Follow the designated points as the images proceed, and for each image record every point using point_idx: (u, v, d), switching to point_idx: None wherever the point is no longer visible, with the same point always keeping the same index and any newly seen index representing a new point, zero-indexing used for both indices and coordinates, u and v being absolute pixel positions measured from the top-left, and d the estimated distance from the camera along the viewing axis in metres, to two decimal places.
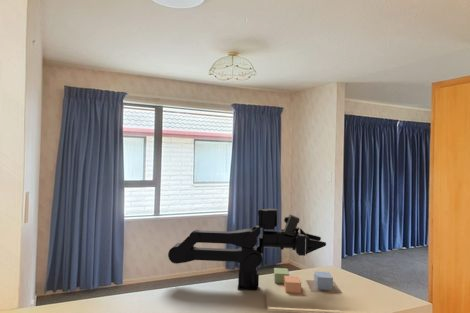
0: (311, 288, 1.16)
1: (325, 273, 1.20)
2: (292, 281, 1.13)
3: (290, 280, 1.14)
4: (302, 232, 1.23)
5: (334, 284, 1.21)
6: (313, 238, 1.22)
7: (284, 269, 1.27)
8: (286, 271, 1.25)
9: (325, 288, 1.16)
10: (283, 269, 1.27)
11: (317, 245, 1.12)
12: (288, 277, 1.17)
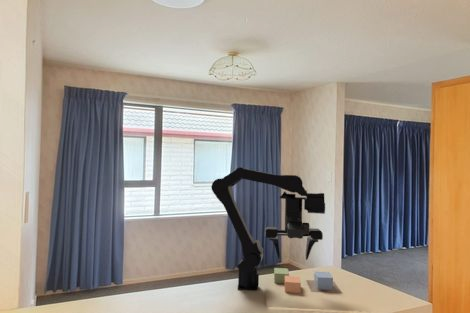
0: (311, 288, 1.16)
1: (325, 273, 1.20)
2: (292, 281, 1.13)
3: (290, 280, 1.14)
4: (309, 241, 1.14)
5: (334, 284, 1.21)
6: (306, 251, 1.16)
7: (284, 269, 1.27)
8: (286, 271, 1.24)
9: (325, 288, 1.16)
10: (284, 269, 1.27)
11: None
12: (288, 277, 1.17)
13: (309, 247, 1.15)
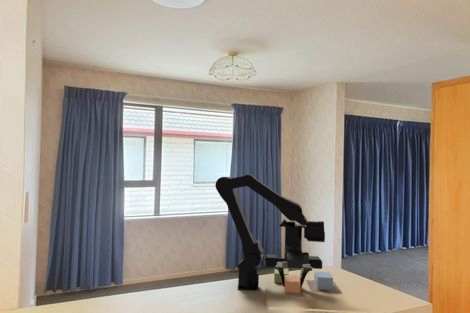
0: (311, 288, 1.16)
1: (325, 273, 1.20)
2: (291, 280, 1.13)
3: (290, 279, 1.14)
4: (303, 270, 1.14)
5: (334, 284, 1.21)
6: (300, 280, 1.16)
7: (284, 269, 1.27)
8: (286, 271, 1.24)
9: (325, 288, 1.16)
10: (284, 269, 1.27)
11: None
12: (288, 276, 1.17)
13: (303, 275, 1.14)
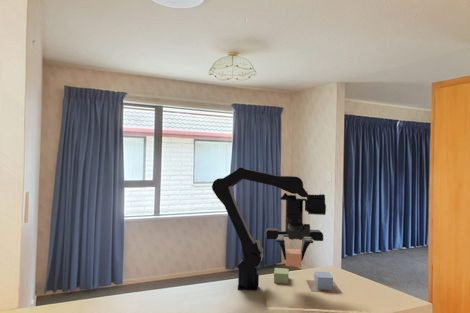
0: (311, 288, 1.16)
1: (325, 273, 1.20)
2: (293, 253, 1.14)
3: (291, 252, 1.15)
4: (304, 242, 1.14)
5: (334, 284, 1.21)
6: (301, 252, 1.16)
7: (284, 269, 1.27)
8: (286, 271, 1.24)
9: (325, 288, 1.16)
10: (284, 269, 1.27)
11: None
12: (289, 250, 1.18)
13: (304, 248, 1.15)
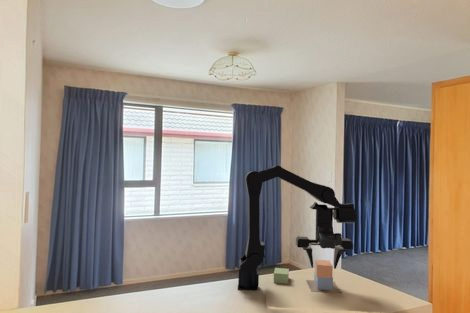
0: (311, 288, 1.16)
1: None
2: (323, 264, 1.17)
3: (321, 263, 1.18)
4: (337, 251, 1.17)
5: (334, 284, 1.21)
6: (334, 261, 1.19)
7: (285, 269, 1.27)
8: (286, 271, 1.24)
9: (325, 288, 1.16)
10: (284, 269, 1.27)
11: (309, 258, 1.20)
12: (319, 261, 1.21)
13: (338, 256, 1.18)
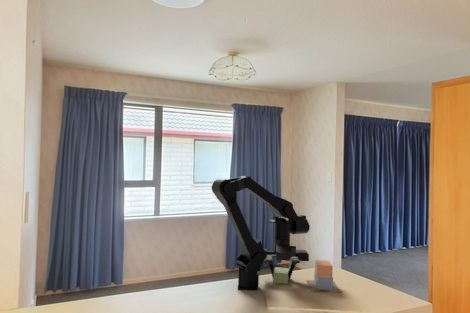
0: (311, 288, 1.16)
1: None
2: (323, 264, 1.17)
3: (321, 263, 1.18)
4: (291, 262, 1.23)
5: (334, 284, 1.21)
6: (289, 271, 1.25)
7: (285, 269, 1.27)
8: (286, 271, 1.24)
9: (325, 288, 1.16)
10: (284, 269, 1.27)
11: None
12: (319, 261, 1.21)
13: (291, 267, 1.24)
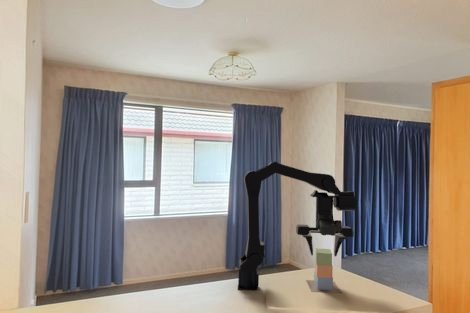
0: (311, 288, 1.16)
1: None
2: None
3: None
4: (338, 238, 1.18)
5: (334, 284, 1.21)
6: (335, 248, 1.19)
7: (326, 249, 1.21)
8: (329, 251, 1.19)
9: (325, 288, 1.16)
10: (326, 249, 1.21)
11: None
12: None
13: (338, 244, 1.18)
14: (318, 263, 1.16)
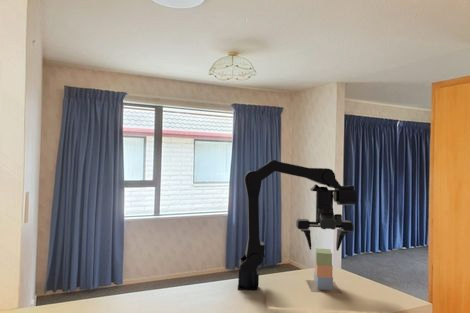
0: (311, 288, 1.16)
1: None
2: None
3: None
4: (340, 232, 1.18)
5: (334, 284, 1.21)
6: (337, 242, 1.19)
7: (326, 249, 1.21)
8: (329, 251, 1.19)
9: (325, 288, 1.16)
10: (326, 249, 1.21)
11: (307, 240, 1.20)
12: None
13: (340, 238, 1.18)
14: (318, 263, 1.16)
